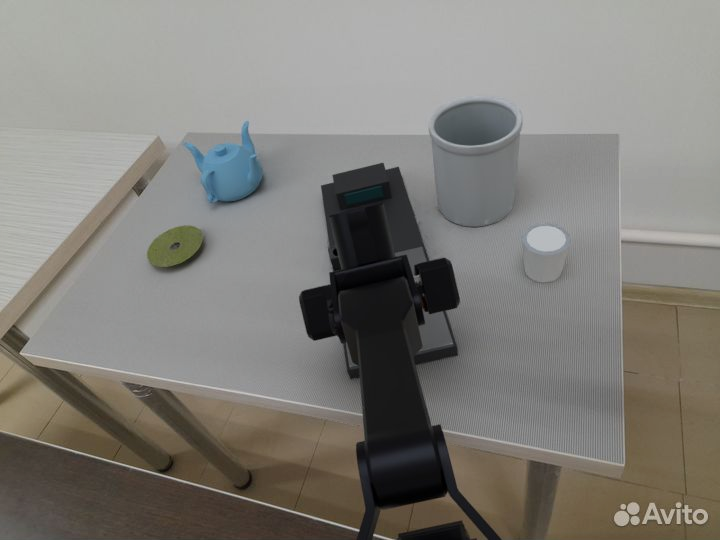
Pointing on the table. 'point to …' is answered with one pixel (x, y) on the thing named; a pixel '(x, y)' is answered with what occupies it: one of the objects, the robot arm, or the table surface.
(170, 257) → the mat
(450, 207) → the utensil holder
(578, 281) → the table surface
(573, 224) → the table surface
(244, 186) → the teapot
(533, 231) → the shot glass
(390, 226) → the scale
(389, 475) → the robot arm
